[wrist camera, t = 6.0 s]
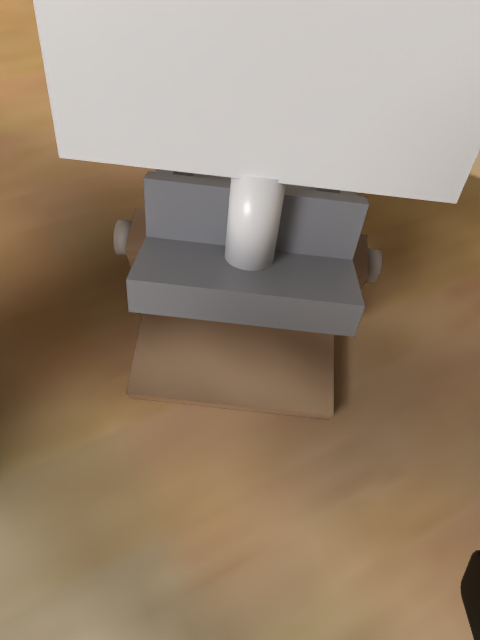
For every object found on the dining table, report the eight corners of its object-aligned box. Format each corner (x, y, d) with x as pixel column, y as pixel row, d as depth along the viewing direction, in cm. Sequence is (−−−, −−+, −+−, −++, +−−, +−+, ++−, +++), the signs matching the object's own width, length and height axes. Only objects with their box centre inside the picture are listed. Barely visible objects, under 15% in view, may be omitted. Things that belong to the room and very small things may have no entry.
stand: (336, 420, 22) (387, 382, 15) (121, 396, 22) (83, 348, 15) (336, 281, 25) (379, 201, 19) (150, 260, 25) (128, 173, 18)
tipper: (418, 344, 13) (579, 7, 8) (63, 304, 13) (-12, -65, 8) (366, 209, 21) (431, -10, 16) (139, 183, 21) (127, -48, 15)
